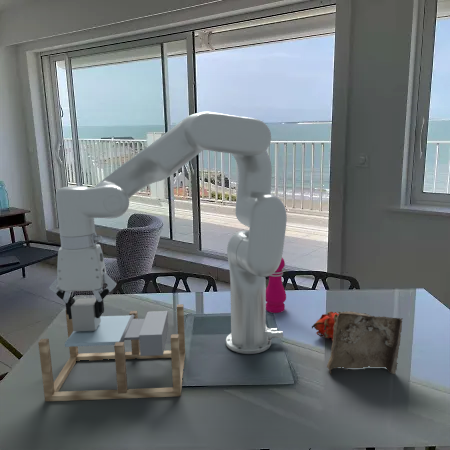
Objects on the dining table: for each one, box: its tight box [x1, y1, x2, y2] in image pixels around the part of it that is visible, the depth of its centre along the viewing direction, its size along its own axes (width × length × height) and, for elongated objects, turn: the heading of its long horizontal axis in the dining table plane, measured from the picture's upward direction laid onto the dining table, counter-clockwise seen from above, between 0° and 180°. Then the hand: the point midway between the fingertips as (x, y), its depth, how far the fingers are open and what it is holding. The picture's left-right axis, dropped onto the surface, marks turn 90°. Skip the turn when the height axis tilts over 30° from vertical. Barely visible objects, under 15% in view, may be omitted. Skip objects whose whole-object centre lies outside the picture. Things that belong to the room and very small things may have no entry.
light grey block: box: [71, 297, 101, 331], centre depth 97 cm, size 5×5×6 cm
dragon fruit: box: [311, 311, 342, 343], centre depth 117 cm, size 8×8×12 cm
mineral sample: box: [326, 310, 404, 375], centre depth 99 cm, size 17×4×15 cm, turn 88°
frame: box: [38, 303, 186, 402], centre depth 99 cm, size 30×19×14 cm, turn 92°
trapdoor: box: [64, 310, 169, 356], centre depth 98 cm, size 21×15×5 cm
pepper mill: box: [266, 257, 287, 314], centre depth 136 cm, size 7×7×20 cm
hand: (85, 315), depth 97 cm, fingers open, 5 cm apart
